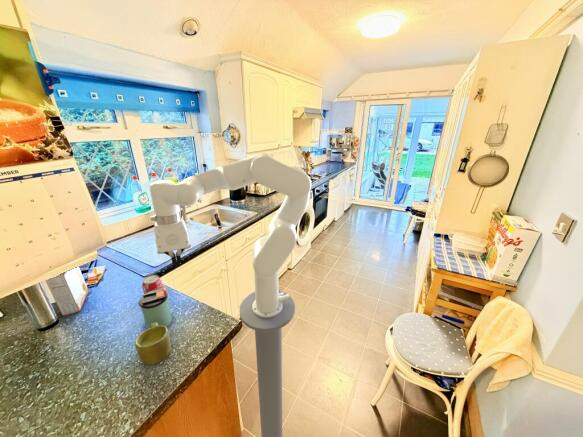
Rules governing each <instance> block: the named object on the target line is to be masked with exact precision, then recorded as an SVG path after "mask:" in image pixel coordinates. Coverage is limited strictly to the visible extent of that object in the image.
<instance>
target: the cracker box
mask: <svg viewBox="0 0 583 437" xmlns="http://www.w3.org/2000/svg"><path fill="white" fill-rule="evenodd" d="M45 283H46V285H47V287H48V290H49V291H50V293H51V295H52V297H53V300H54V301H55V303H56V305H57V308H58V310H59V312H60V314H61V316H62V317H65V316H67V315H70V314H75V313H80V312H81V311H82V310H81V309H82V308H83V305H84V303H85V302H86V299H87V297H88V294H89V288H88V285H87V283H86V280H85V278H84V276H83V274H82V271H81V269H80V266H79V267H77V268H74V269H72V270H70V271H67V272H65V273H62V274H61V275H58V276H56V277H53V278H50V279H48V280H46V281H45Z"/></svg>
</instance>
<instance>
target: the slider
mask: <svg viewBox="0 0 583 437" xmlns="http://www.w3.org/2000/svg"><path fill="white" fill-rule="evenodd" d="M167 294H168V290H167V286H164V285H163V291H160V292H156V299H157V298H160V297H164V296H167Z"/></svg>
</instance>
